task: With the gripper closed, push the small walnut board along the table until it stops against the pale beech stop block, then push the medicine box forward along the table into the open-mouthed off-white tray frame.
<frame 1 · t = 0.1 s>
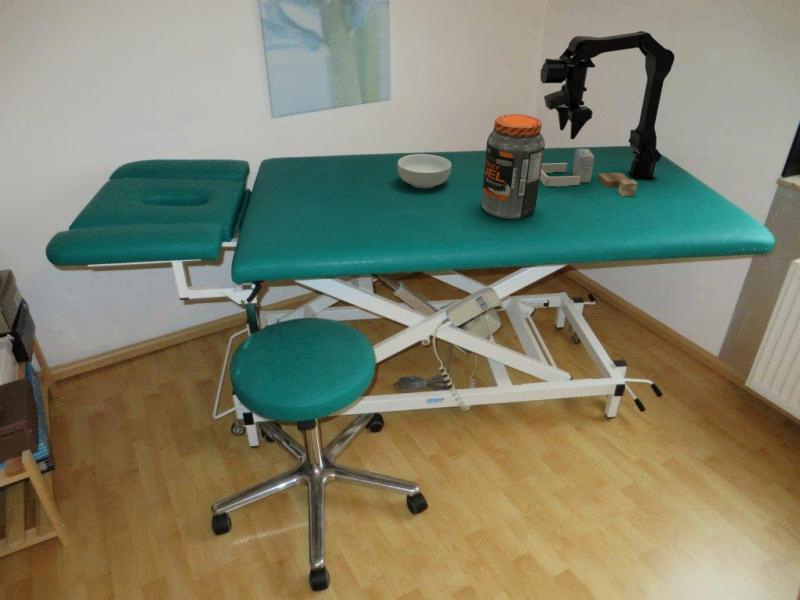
hand: (566, 134, 188), 15 cm above the table, fingers open, 9 cm apart
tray: (555, 178, 196), on the table
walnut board: (612, 184, 194), on the table
beech stop block: (626, 194, 186), on the table
supplement tub: (507, 209, 175), on the table
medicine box: (580, 178, 197), on the table
cereal bowl: (423, 184, 191), on the table
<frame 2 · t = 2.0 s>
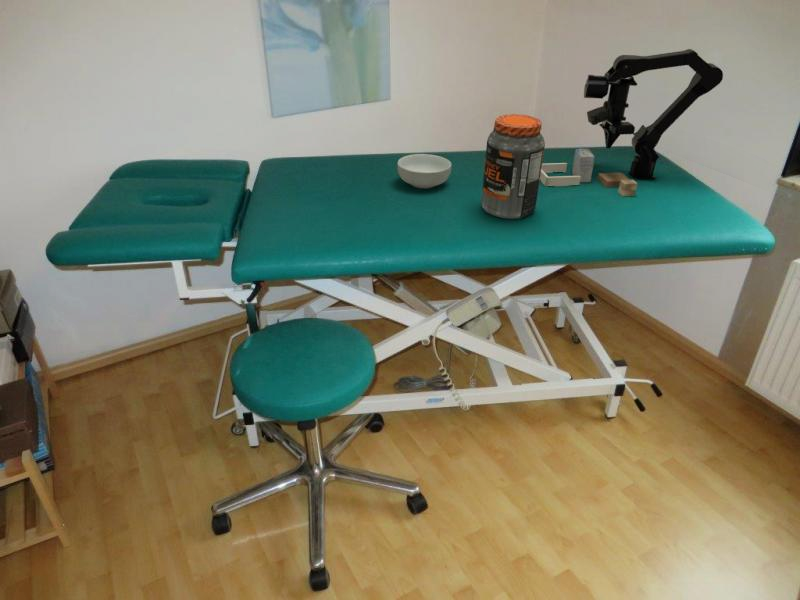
hand: (607, 148, 196), 9 cm above the table, fingers closed
nothing on the table moved.
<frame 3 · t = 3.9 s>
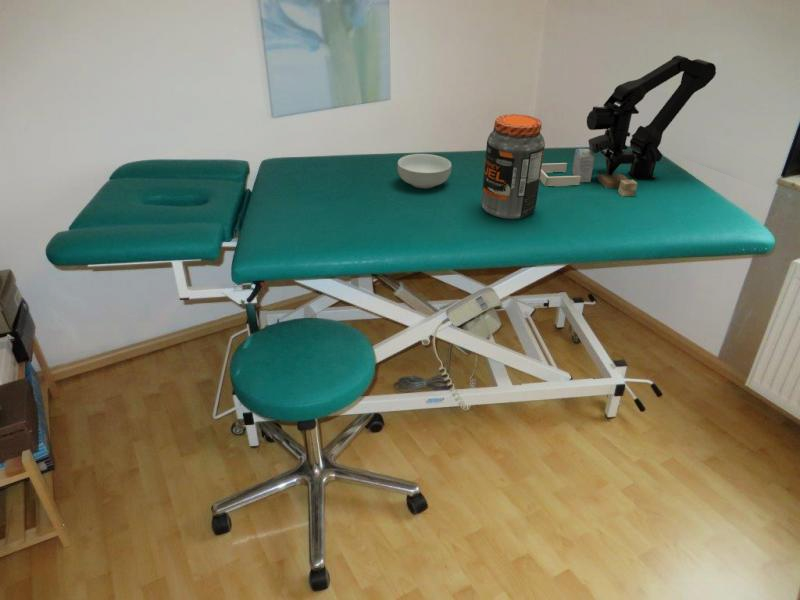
hand: (608, 175, 196), 1 cm above the table, fingers closed
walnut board: (613, 185, 193), on the table, touching gripper
everything else where it was.
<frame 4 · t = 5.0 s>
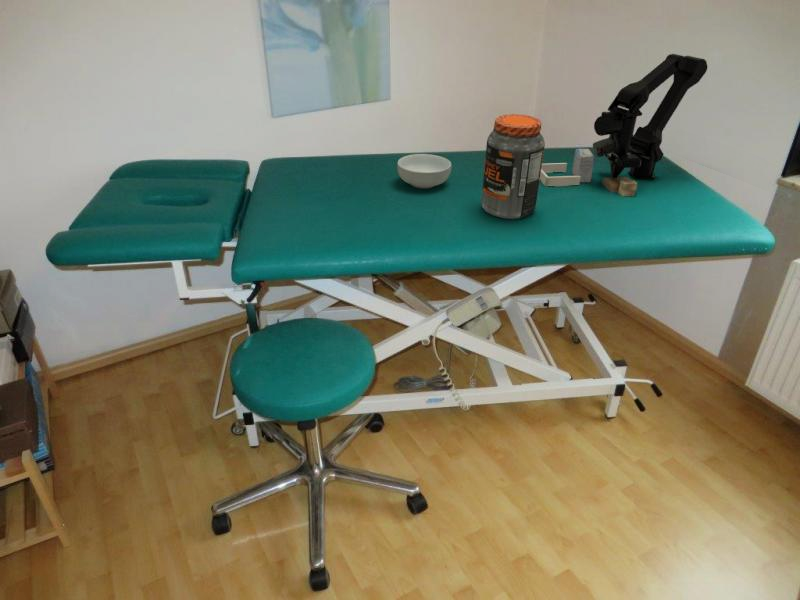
hand: (613, 179, 193), 1 cm above the table, fingers closed
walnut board: (618, 188, 191), on the table
everything else where it was.
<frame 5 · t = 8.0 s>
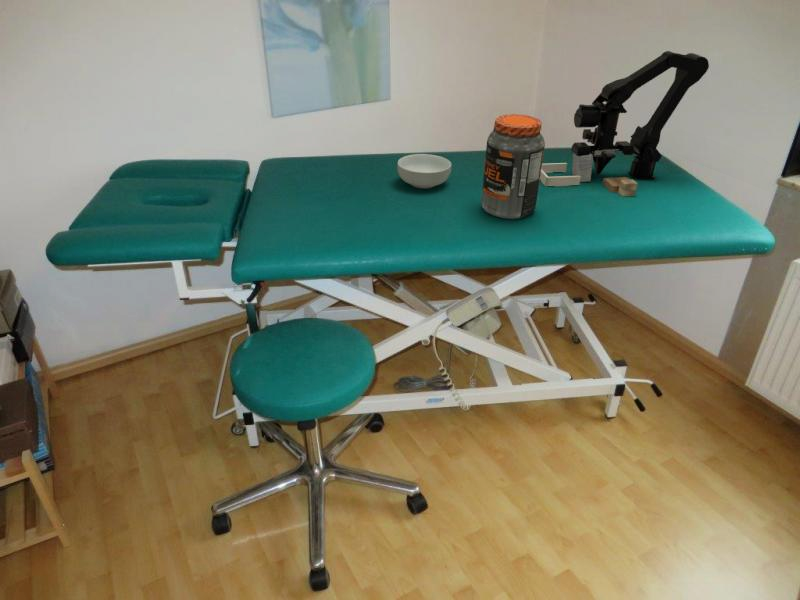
hand: (597, 174, 197), 1 cm above the table, fingers closed
nothing on the table moved.
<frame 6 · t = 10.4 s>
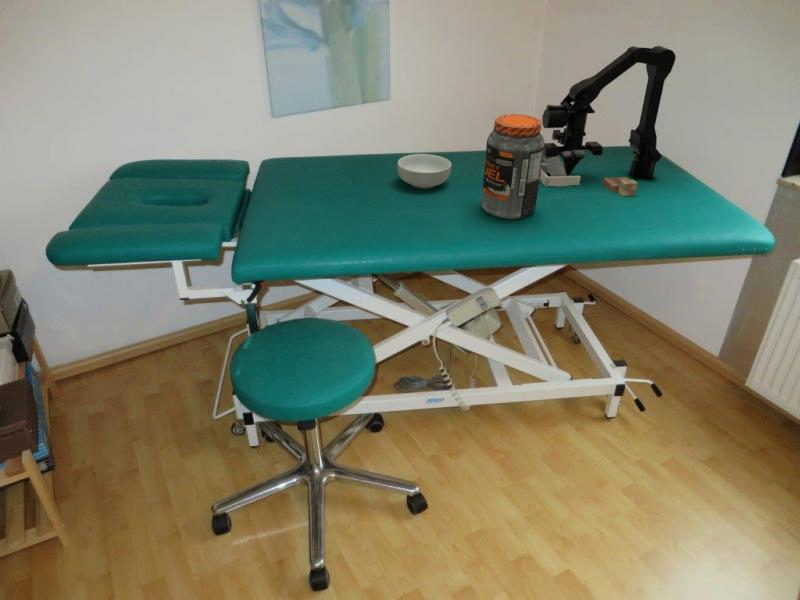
hand: (567, 174, 196), 1 cm above the table, fingers closed, pressing on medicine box
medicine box: (559, 176, 196), point 1 cm above the table, touching gripper
everything else where it was.
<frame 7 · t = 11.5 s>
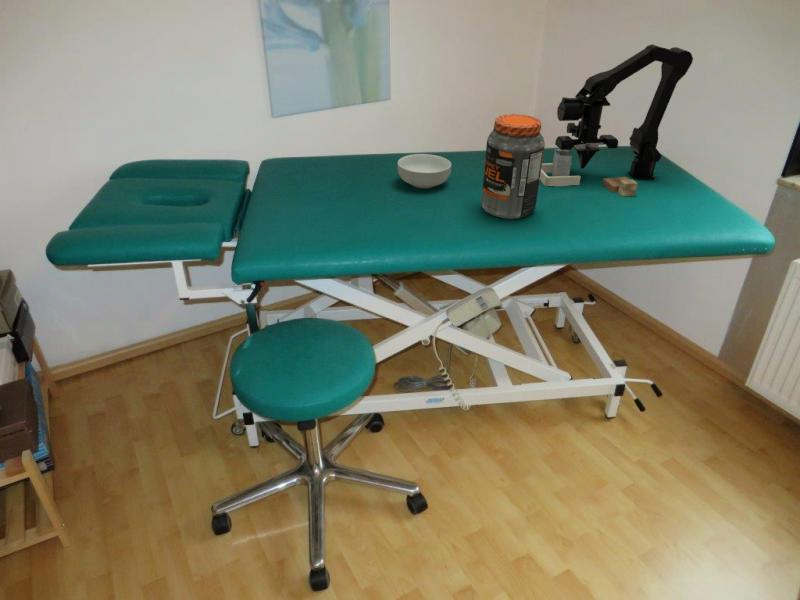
hand: (582, 168, 195), 3 cm above the table, fingers closed
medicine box: (559, 179, 196), on the table
everything else where it was.
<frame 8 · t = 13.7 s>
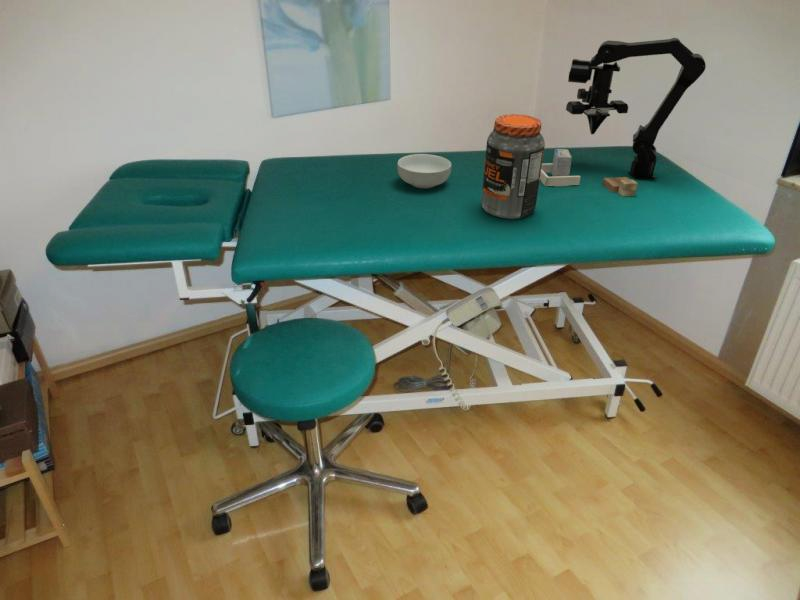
hand: (592, 133, 198), 12 cm above the table, fingers closed
nothing on the table moved.
at the end: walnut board 1.0 cm from the target spot, on the table; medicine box inside the target area (1.3 cm from its centre), on the table; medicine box tilted 0° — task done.
